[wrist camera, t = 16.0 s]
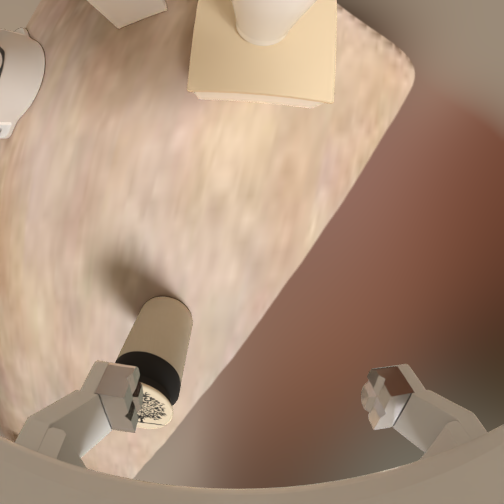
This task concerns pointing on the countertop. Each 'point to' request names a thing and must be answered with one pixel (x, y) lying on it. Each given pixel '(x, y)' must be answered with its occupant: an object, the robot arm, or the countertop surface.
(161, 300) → the travel mug
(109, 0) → the milk carton
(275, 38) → the white ceramic cup
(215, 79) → the painted box
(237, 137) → the countertop surface
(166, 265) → the countertop surface
